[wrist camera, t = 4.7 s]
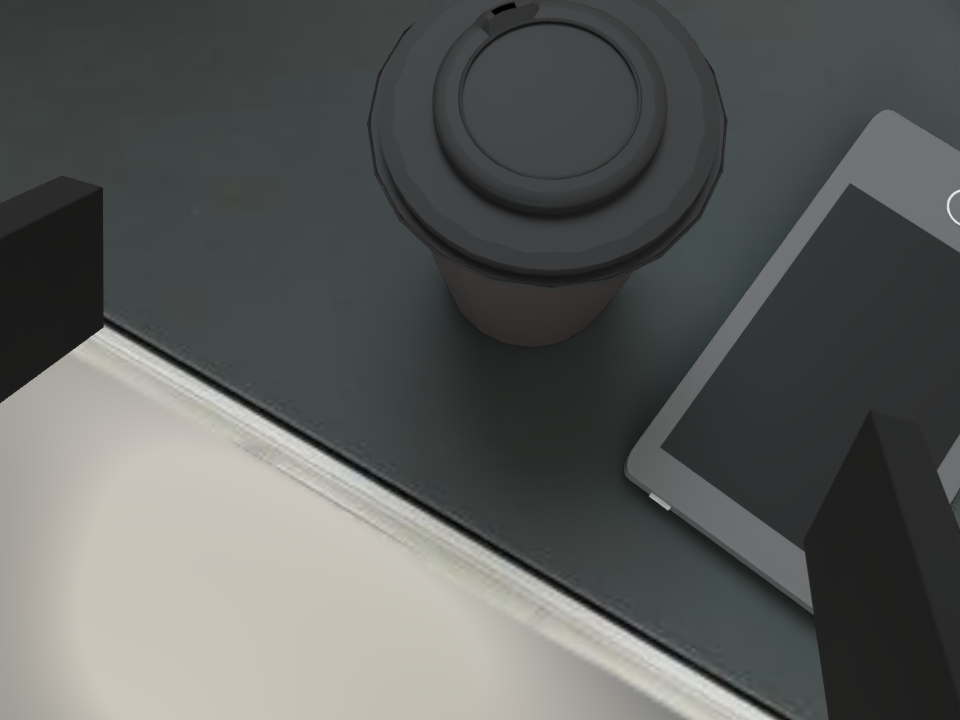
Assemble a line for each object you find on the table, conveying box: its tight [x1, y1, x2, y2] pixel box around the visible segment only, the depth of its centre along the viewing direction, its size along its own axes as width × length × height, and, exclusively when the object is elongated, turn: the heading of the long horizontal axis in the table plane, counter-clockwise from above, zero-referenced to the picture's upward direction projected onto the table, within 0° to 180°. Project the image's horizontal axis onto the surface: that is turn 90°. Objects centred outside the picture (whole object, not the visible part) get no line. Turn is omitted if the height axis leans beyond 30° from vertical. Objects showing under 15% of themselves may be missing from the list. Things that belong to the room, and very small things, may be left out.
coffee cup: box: [367, 0, 727, 347], centre depth 24 cm, size 8×8×10 cm
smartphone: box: [624, 110, 960, 615], centre depth 27 cm, size 15×8×1 cm, turn 143°
